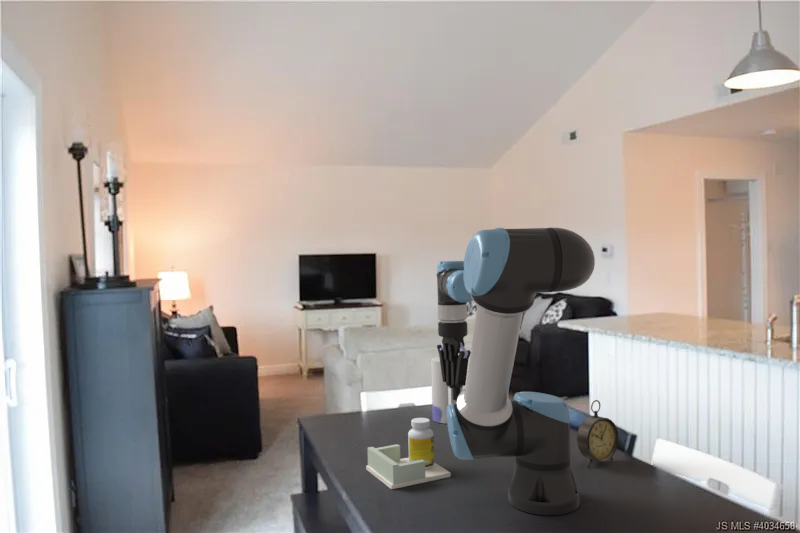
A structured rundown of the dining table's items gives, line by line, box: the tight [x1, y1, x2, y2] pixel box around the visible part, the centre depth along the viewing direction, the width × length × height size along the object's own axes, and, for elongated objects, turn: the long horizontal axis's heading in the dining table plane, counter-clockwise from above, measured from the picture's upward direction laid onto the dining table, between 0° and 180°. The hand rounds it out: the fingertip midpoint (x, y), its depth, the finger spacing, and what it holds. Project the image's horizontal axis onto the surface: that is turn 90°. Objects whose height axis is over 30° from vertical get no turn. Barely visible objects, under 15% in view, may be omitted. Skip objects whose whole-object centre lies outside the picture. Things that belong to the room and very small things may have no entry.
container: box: [430, 356, 464, 424], centre depth 200 cm, size 10×10×20 cm
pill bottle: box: [407, 417, 435, 469], centre depth 155 cm, size 6×6×12 cm
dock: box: [365, 444, 452, 490], centre depth 154 cm, size 15×16×6 cm
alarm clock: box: [576, 399, 620, 468], centre depth 157 cm, size 11×5×16 cm, turn 119°
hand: (454, 411), depth 160 cm, fingers closed
